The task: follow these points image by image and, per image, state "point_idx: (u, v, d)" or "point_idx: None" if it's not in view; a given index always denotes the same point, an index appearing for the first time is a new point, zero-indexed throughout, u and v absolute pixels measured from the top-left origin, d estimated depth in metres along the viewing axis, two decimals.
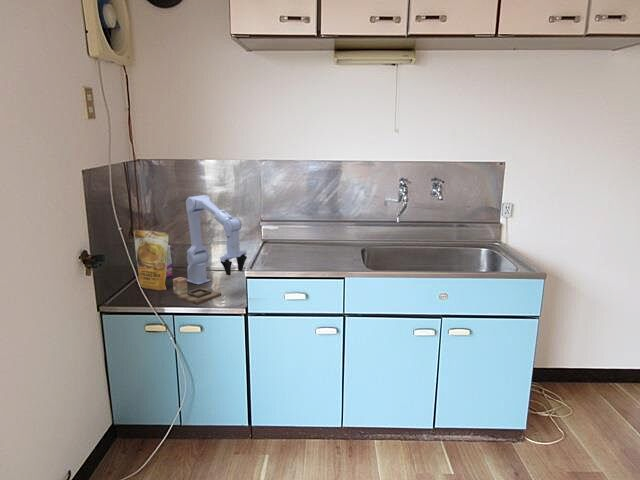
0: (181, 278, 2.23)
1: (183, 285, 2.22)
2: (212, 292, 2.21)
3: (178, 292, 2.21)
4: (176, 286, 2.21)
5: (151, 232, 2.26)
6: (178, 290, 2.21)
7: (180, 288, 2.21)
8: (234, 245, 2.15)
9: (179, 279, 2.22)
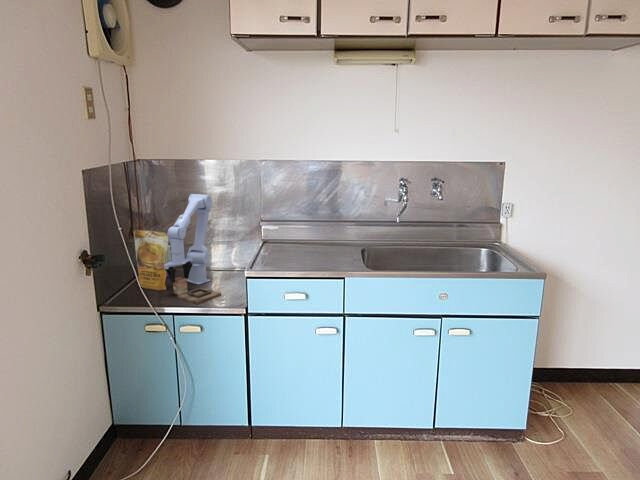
0: (181, 278, 2.23)
1: (183, 285, 2.22)
2: (212, 292, 2.21)
3: (178, 292, 2.21)
4: (176, 286, 2.21)
5: (151, 232, 2.26)
6: (178, 290, 2.21)
7: (180, 288, 2.21)
8: (172, 252, 2.17)
9: (179, 279, 2.22)
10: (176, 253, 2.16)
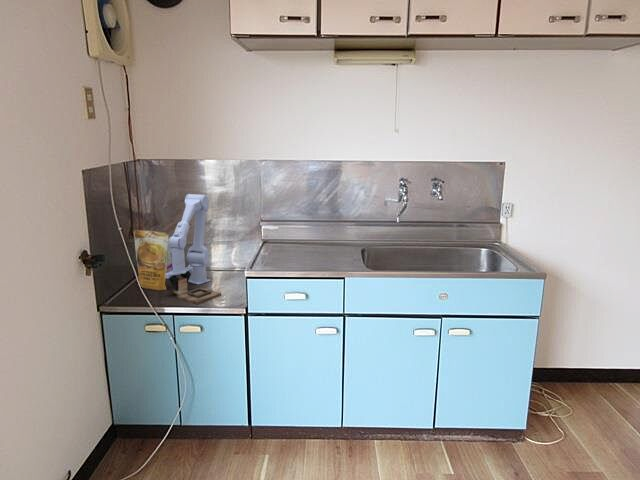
0: (181, 278, 2.23)
1: (183, 285, 2.22)
2: (212, 292, 2.21)
3: (178, 292, 2.21)
4: None
5: (151, 232, 2.26)
6: (178, 290, 2.21)
7: (180, 288, 2.21)
8: (172, 261, 2.18)
9: (179, 279, 2.22)
10: (177, 262, 2.18)
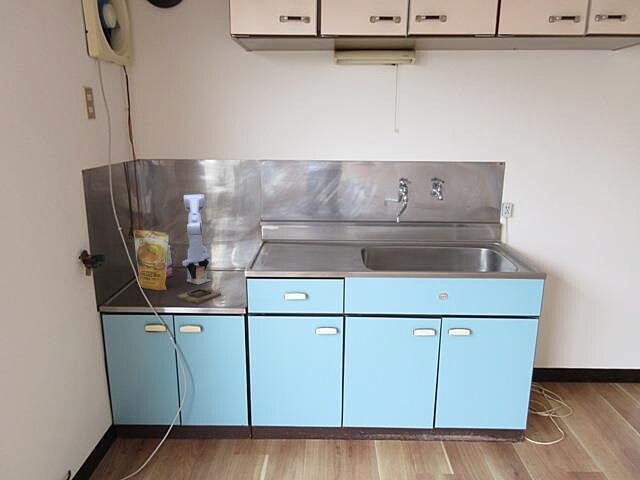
0: (198, 266, 2.17)
1: (200, 273, 2.15)
2: (212, 292, 2.21)
3: (195, 280, 2.15)
4: None
5: (151, 232, 2.26)
6: None
7: (197, 276, 2.14)
8: (192, 249, 2.11)
9: (196, 267, 2.15)
10: (195, 249, 2.11)
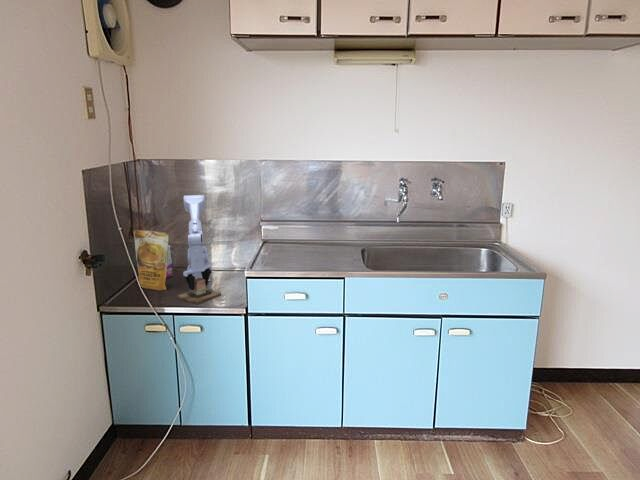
0: (199, 279, 2.18)
1: (201, 286, 2.17)
2: (212, 292, 2.21)
3: (196, 293, 2.16)
4: (194, 287, 2.16)
5: (151, 232, 2.26)
6: (196, 291, 2.16)
7: (198, 289, 2.16)
8: (193, 260, 2.12)
9: (197, 280, 2.17)
10: (195, 260, 2.12)
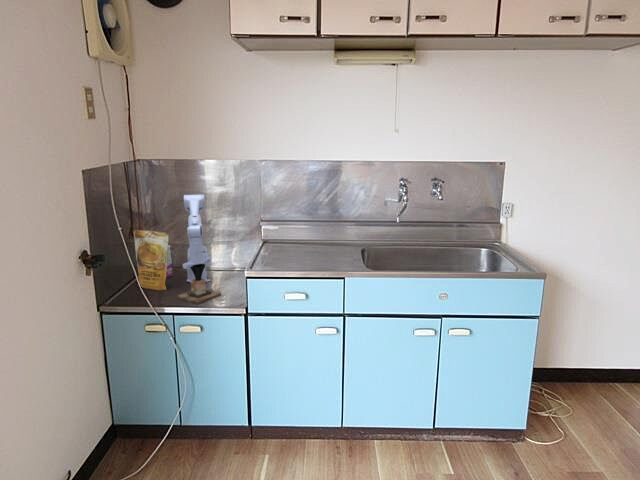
0: None
1: (201, 286, 2.17)
2: (212, 292, 2.21)
3: (196, 293, 2.16)
4: (194, 287, 2.16)
5: (151, 232, 2.26)
6: (196, 291, 2.16)
7: (198, 289, 2.16)
8: (193, 252, 2.11)
9: (197, 280, 2.17)
10: (195, 252, 2.11)
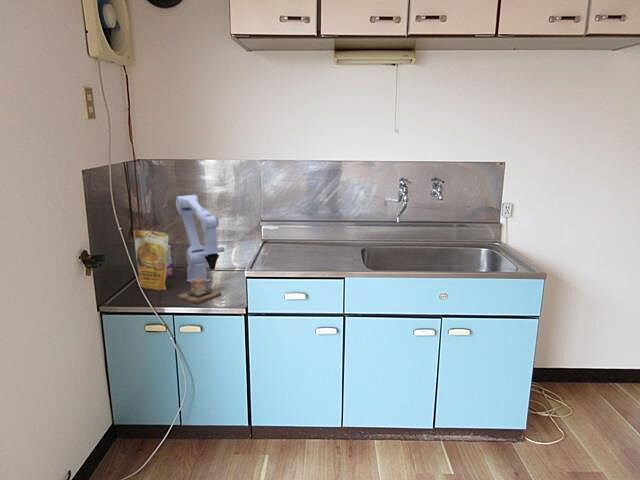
0: (199, 279, 2.18)
1: (201, 286, 2.17)
2: (212, 292, 2.21)
3: (196, 293, 2.16)
4: (194, 287, 2.16)
5: (151, 232, 2.26)
6: (196, 291, 2.16)
7: (198, 289, 2.16)
8: (210, 242, 2.20)
9: (197, 280, 2.17)
10: (209, 242, 2.20)
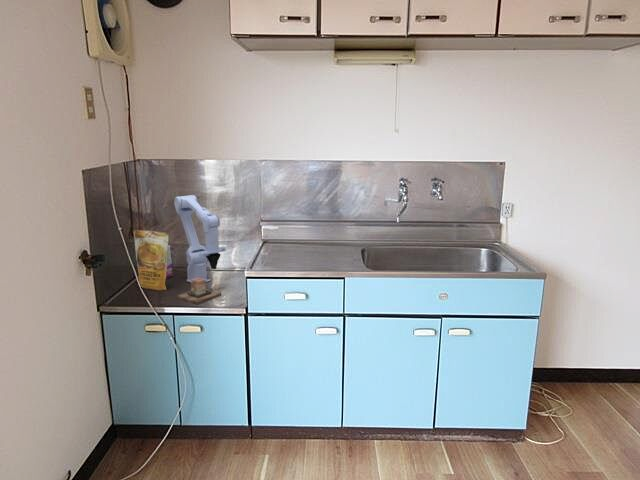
0: (199, 279, 2.18)
1: (201, 286, 2.17)
2: (212, 292, 2.21)
3: (196, 293, 2.16)
4: (194, 287, 2.16)
5: (151, 232, 2.26)
6: (196, 291, 2.16)
7: (198, 289, 2.16)
8: (212, 241, 2.20)
9: (197, 280, 2.17)
10: (211, 242, 2.20)
